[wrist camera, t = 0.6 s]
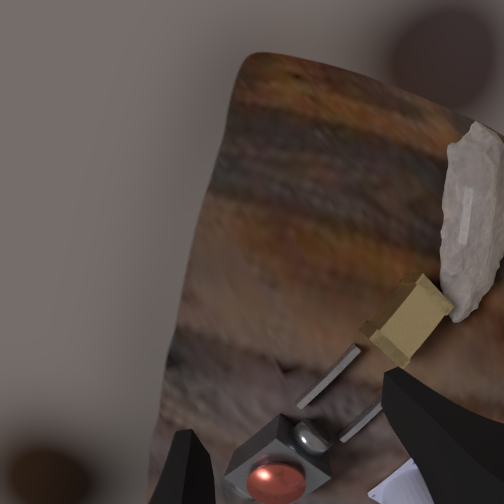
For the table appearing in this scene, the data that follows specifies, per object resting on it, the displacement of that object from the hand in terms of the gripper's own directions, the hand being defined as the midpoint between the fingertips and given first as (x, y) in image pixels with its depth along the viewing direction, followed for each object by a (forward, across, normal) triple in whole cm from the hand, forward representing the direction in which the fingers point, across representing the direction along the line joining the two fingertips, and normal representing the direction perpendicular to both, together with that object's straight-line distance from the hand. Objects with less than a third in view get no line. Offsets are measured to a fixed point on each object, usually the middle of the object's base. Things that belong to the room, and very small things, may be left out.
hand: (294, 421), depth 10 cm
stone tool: (+19, -28, +4) cm, 34 cm away
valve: (+14, -2, +22) cm, 26 cm away
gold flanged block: (+17, -15, +12) cm, 25 cm away
